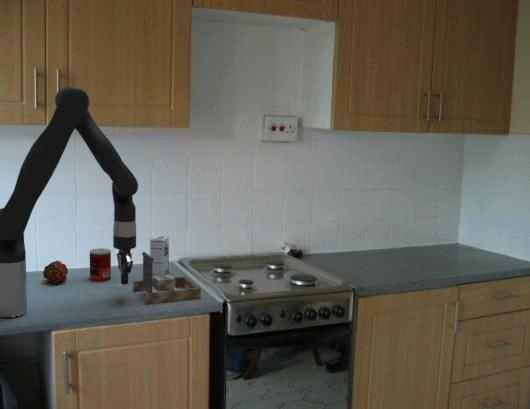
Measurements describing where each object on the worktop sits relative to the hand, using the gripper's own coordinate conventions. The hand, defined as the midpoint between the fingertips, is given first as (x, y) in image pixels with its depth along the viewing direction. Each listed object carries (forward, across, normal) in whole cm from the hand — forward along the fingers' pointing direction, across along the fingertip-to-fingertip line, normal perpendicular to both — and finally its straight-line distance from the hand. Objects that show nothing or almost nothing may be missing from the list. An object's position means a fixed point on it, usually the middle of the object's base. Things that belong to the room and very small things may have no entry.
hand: (124, 283), depth 216 cm
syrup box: (+6, -29, +21) cm, 36 cm away
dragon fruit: (+6, -31, -18) cm, 36 cm away
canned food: (+6, -29, -2) cm, 30 cm away
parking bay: (+6, 0, +14) cm, 15 cm away
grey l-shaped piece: (+5, 0, +13) cm, 14 cm away
